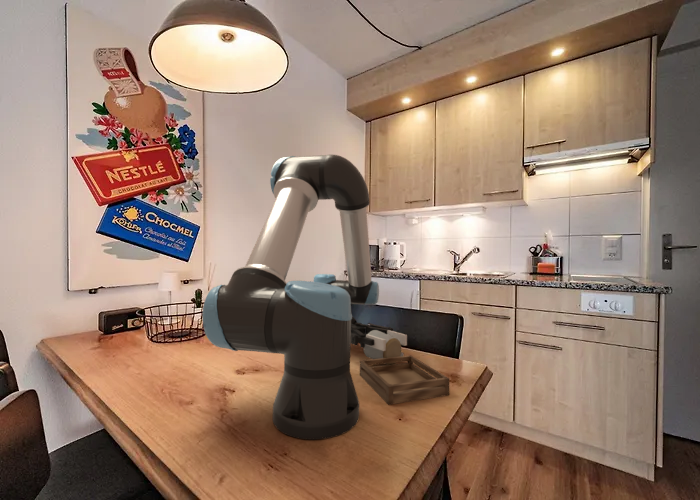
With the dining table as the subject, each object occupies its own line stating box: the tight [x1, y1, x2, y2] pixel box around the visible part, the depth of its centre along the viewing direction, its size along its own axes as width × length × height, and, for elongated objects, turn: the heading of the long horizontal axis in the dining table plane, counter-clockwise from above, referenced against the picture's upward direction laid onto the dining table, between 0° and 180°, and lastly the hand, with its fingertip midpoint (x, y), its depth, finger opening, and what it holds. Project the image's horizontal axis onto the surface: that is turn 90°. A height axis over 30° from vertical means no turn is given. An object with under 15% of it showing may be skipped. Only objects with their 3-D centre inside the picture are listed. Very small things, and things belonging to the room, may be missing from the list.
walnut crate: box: [359, 355, 450, 405], centre depth 69 cm, size 14×15×3 cm
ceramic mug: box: [362, 330, 405, 365], centre depth 84 cm, size 11×8×8 cm
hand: (395, 342), depth 80 cm, fingers closed on ceramic mug, 7 cm apart
